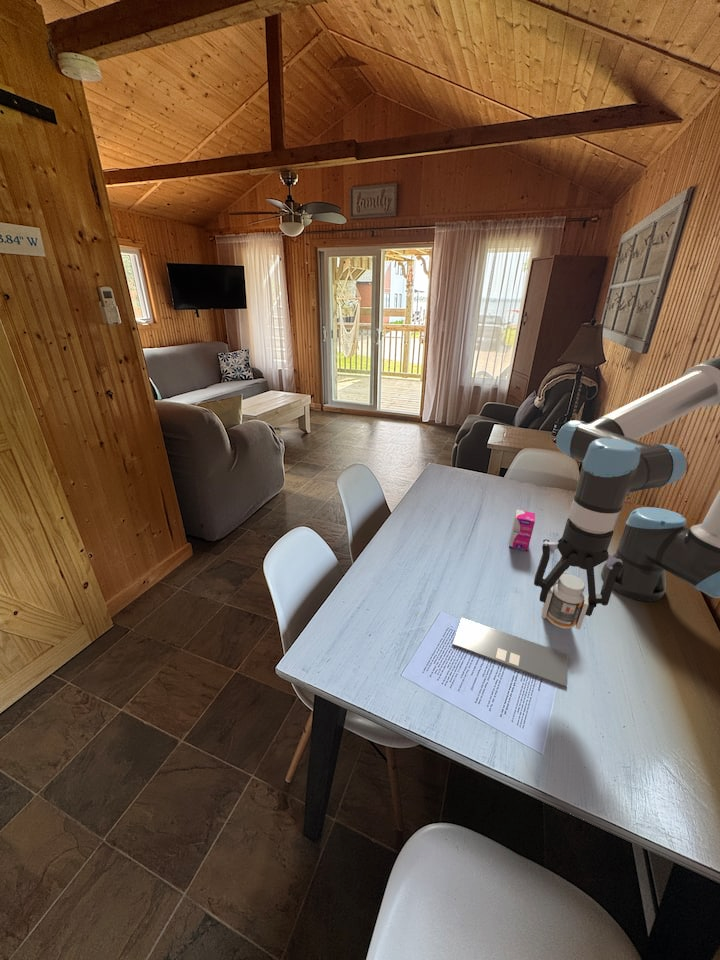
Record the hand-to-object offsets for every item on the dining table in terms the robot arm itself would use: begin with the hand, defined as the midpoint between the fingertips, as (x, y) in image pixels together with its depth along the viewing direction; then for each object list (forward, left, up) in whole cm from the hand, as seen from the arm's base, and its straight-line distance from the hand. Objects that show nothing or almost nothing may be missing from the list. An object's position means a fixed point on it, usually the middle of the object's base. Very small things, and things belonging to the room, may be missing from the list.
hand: (560, 618), depth 81 cm
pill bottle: (0, 0, 0) cm, 0 cm away
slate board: (+8, 0, -14) cm, 16 cm away
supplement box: (+11, -46, -14) cm, 49 cm away
